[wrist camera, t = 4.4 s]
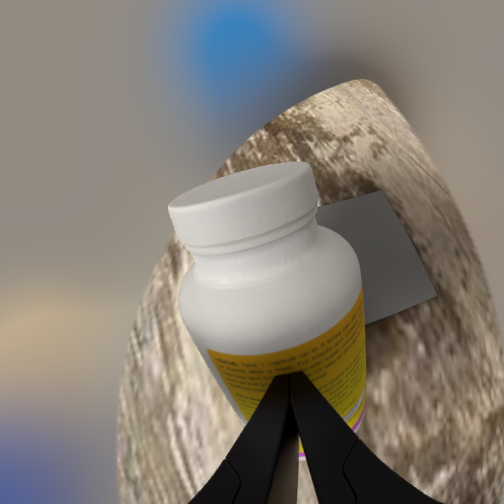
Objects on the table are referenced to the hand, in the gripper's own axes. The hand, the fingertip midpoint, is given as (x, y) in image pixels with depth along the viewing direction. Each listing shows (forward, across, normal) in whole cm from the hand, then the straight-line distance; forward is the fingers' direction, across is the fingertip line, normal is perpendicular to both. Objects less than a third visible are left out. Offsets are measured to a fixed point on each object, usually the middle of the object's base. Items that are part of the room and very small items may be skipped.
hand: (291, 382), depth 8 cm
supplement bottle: (+4, 0, +7) cm, 8 cm away
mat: (+13, -4, +2) cm, 13 cm away
